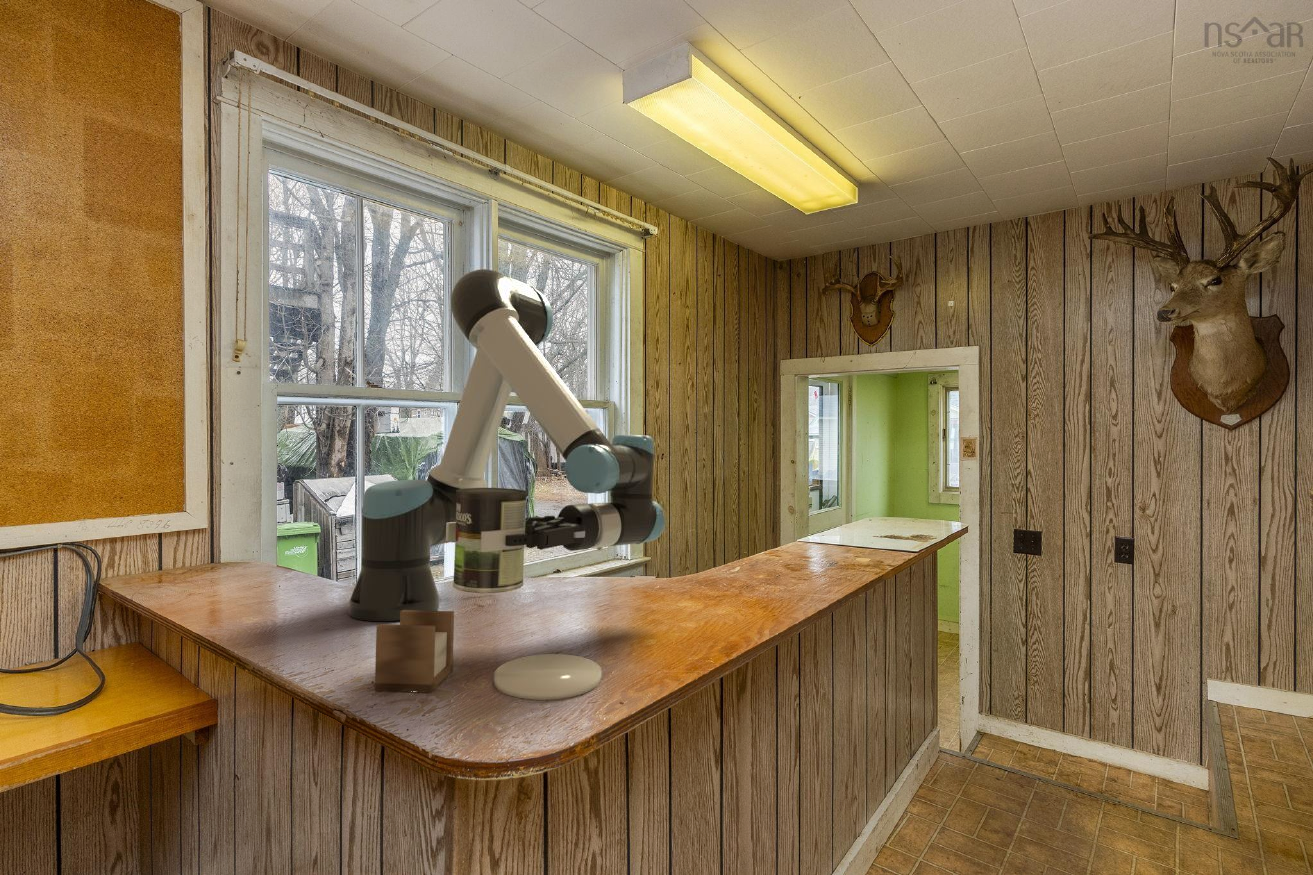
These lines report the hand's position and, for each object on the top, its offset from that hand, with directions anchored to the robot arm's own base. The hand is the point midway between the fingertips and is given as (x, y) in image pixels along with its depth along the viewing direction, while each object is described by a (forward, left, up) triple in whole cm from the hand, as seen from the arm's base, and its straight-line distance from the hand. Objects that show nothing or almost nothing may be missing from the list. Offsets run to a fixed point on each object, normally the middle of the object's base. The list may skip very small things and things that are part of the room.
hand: (464, 536), depth 93 cm
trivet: (+14, -7, -17) cm, 23 cm away
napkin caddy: (-3, -9, -17) cm, 20 cm away
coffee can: (+3, +3, -8) cm, 9 cm away
